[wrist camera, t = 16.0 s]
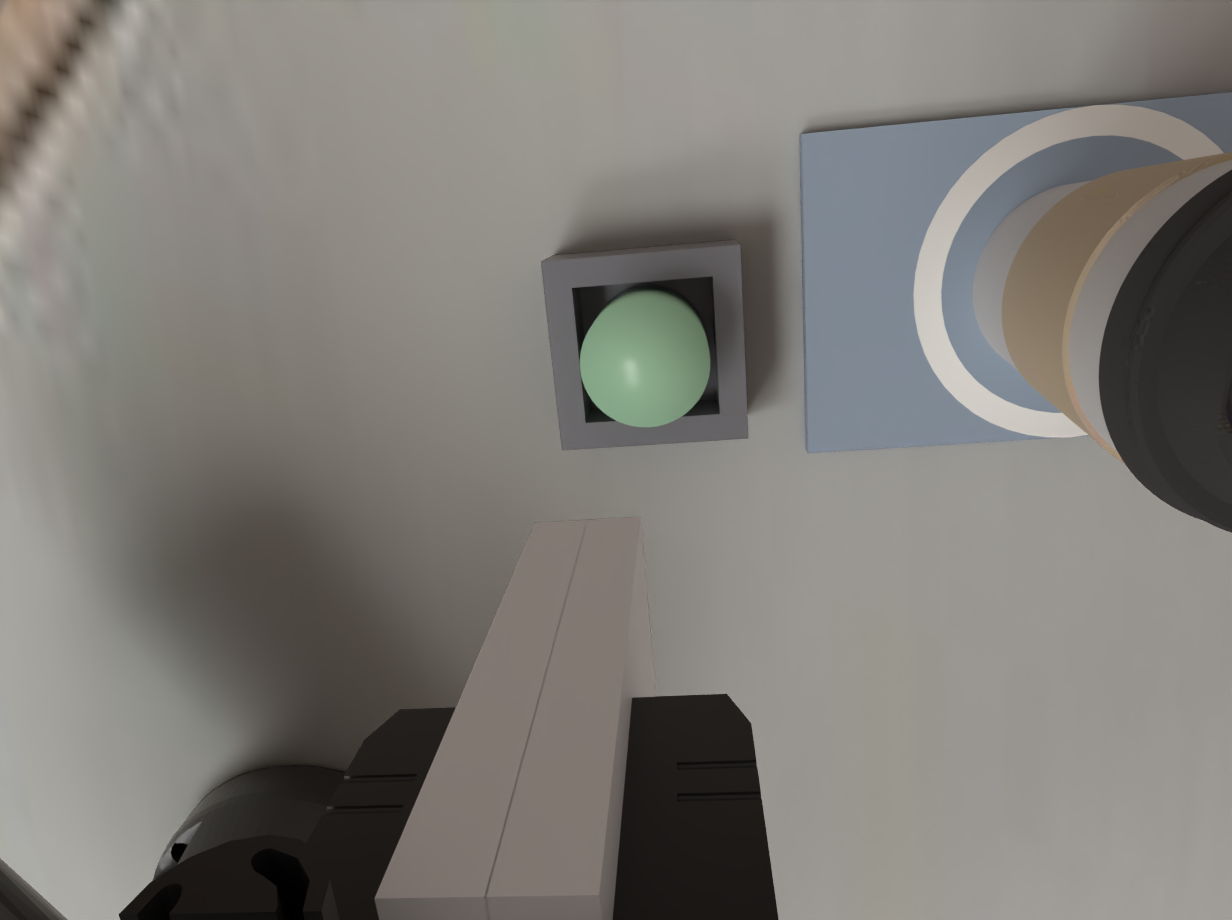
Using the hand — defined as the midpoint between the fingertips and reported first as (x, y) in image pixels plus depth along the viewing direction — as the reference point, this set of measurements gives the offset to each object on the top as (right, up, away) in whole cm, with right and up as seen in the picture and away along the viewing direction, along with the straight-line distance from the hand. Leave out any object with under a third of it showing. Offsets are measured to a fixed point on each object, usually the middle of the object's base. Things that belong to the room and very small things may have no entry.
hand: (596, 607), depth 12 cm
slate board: (+17, +9, +19) cm, 28 cm away
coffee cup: (+17, +9, +19) cm, 27 cm away
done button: (+2, +7, +20) cm, 21 cm away
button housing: (+2, +7, +21) cm, 22 cm away
